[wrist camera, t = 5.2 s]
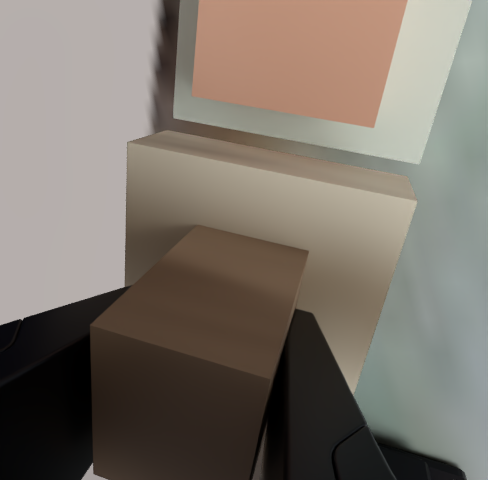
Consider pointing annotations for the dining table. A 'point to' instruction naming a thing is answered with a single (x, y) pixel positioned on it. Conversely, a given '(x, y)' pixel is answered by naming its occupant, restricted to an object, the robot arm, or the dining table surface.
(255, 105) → the tile
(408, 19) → the deck
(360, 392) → the dining table surface
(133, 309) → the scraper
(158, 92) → the dining table surface
